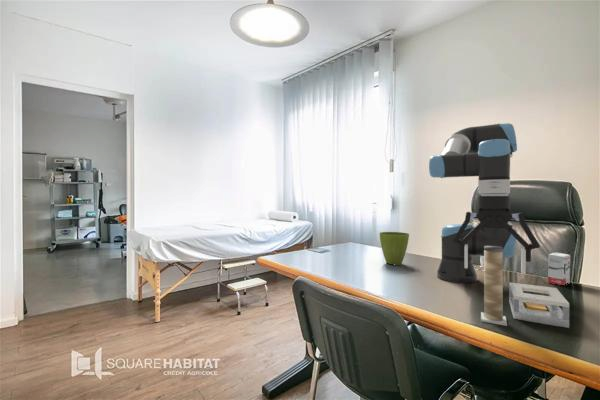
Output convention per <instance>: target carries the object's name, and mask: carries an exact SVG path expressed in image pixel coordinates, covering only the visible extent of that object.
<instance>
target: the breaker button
mask: <svg viewBox="0 0 600 400" xmlns="http://www.w3.org/2000/svg"><path fill="white" fill-rule="evenodd" d="M525 308H528V309H535V310H541V311H547V308H546V306H545V305H544V304H537V303H530V302H525Z"/></svg>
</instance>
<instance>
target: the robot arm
mask: <svg viewBox="0 0 600 400" xmlns="http://www.w3.org/2000/svg"><path fill="white" fill-rule="evenodd" d="M517 151H518V144H517V135H516V130H515V127H514V125H513V124H512V123H509V122H507V123H494V124H486V125H480V126H478V125H477V126H470V127H469V126H468V127H466V128H462V129H459V130H458V131H456V132H454V133H452V134H451V135H450V136H449V137H448V138H447V139H446V141H445V143H444V149H443V151H442V153H441V154H437V155H432V156H430V158H429V162H428V171H429V174H430V175H429V176H431V178H437V179H439V178H440V179H444V178H461V177H462V178H464V177H465V178H468V177H478V179H477V183H478V186H477V187H478V191H477V192H478V194H479V196H478V201H477V202H478V203H477V205H478V208H477V212H471V211H466V213H465V219H464V221H463V222H462V223H456V224H447V225H444V226H443V227H442V228H441V236H440V237H441V260H440V262H439V265H438V268H437V270H436V277H437V278H439V279H441V280H443V281H447V282H453V283H463V284H464V283H468V284H469V283H476V282H477V281H478V274H477V272H476V269H475V268H474V267H475V266H474V263H473V256H477V257H478V256H479V257H481V256H484V246H499V247H503V259H504V258H505V259H510V258H512V257H513V256H514V253H515V249H516V244H517V242H519V244H520V245H522V246H523V247H524V248H522V247H521V248H520V273H521V275H526V274H527V272H526V271H527V270H526V269H527V268H526V265H527V263H528V262H529V263H530V262H531V260H532V258H531V257H532V254H531V253H532V250H535V249H539V248H540V247H541V246H540V244H539V242H538V240H537V239H536V236H535V235H534V234H533V232H532V231H531V229H530V227H529V225H528V224H527V222H526V220H525V214H524V213H523V212H518V213H512V212H511V197H510V196H509V194H511V177H510V176H511V174H510V173H511V158H512V157H513V153H515V152H517ZM475 218H476V219H477V220H478V221H479V222H478V223H477V224H476V226H475V227H474V226H473V224H472V223H470V221H473V220H474V219H475ZM512 219H514V221H516V222H518V223H519V225H520V227H521V228H522V230H523V231H524V233H525V234H526V236H527V238H528V240H529V242H530V243H527V241H526V240H525V239H524V238H523V237H522V236H521V235H520V234H519V233H518V229H517V228H513V223H512V222H510V221H511V220H512Z"/></svg>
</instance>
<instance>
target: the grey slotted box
mask: <svg viewBox="0 0 600 400" xmlns="http://www.w3.org/2000/svg"><path fill="white" fill-rule="evenodd" d="M508 284H509V285H508V288H509V289H508V293H509V294H508V299H509V300H508V301H509V306H510V307H509V308H510V309H511V310H510V311H511V313H512V318H513V319H514V320H520V321H526V322H532V323H539V324H542V325H550V326H556V327H561V328H567V329H570V302H569V301H568V300H567V299H566V298H565V297H564V295H563V294H562V293H561V292H560V291H559V289H558V288H557V287H553V286H543V285H534V284H527V283H526V284H525V283H518V282H510V281H509V283H508ZM528 292H529V293H528ZM530 292H532V293H530ZM533 293H535V294H533ZM536 293H537V294H536ZM538 293H540V294H538ZM543 294H546V295H543ZM525 302H530V303H537V304H544V305H545V306H546V308H547V311H541V310H535V309H528V308H525Z"/></svg>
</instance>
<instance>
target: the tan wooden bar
mask: <svg viewBox="0 0 600 400" xmlns="http://www.w3.org/2000/svg"><path fill="white" fill-rule="evenodd" d="M503 262H504V258H503V247H499V246H484V270H483V295H484V296H483V308H484V309H483V311H484V312H483V313H484V317H485V318H487V319H490V320H494V321H501V320H503V316H504V315H503V313H504V312H503V311H504V309H503V307H504V305H503V303H504V302H503V301H504V299H503V298H504V297H503V292H504V290H503V289H504V288H503V282H504V281H503V280H504V277H503V276H504V275H503V272H504V271H503V268H504V267H503V265H504V263H503Z"/></svg>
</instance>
